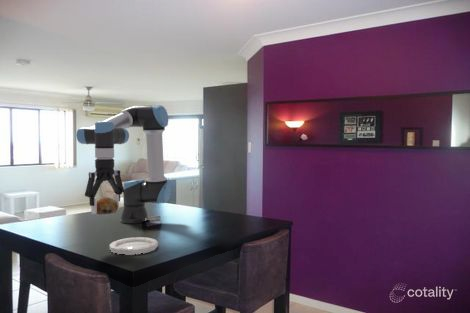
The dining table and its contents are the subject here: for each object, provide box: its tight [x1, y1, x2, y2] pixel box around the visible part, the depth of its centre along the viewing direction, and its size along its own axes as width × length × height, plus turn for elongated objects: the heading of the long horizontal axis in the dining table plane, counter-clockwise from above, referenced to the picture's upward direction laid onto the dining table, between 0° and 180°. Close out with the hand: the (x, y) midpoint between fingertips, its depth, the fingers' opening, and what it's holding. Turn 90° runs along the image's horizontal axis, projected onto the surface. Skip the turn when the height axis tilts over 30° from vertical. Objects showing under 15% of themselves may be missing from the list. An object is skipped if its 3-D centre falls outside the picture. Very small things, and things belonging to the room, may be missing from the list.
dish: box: [109, 236, 159, 256], centre depth 155 cm, size 19×19×2 cm
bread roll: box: [96, 196, 119, 215], centre depth 154 cm, size 10×10×8 cm
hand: (105, 211), depth 154 cm, fingers closed on bread roll, 10 cm apart
